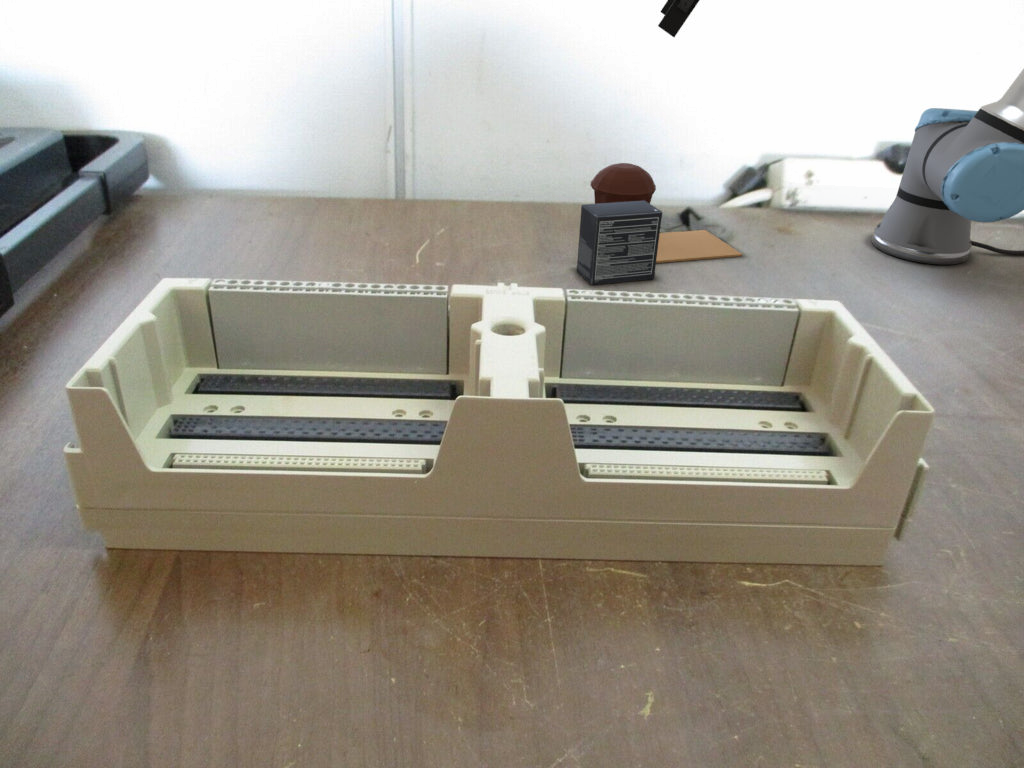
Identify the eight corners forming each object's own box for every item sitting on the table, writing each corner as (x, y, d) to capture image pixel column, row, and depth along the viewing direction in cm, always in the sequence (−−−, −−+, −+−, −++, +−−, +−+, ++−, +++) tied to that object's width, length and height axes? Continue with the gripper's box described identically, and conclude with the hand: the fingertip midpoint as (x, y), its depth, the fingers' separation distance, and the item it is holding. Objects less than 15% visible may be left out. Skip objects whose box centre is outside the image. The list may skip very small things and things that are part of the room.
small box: (636, 264, 120) (645, 198, 115) (655, 280, 115) (665, 211, 109) (574, 269, 117) (580, 202, 112) (590, 285, 112) (597, 216, 106)
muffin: (625, 208, 145) (631, 154, 139) (664, 226, 137) (672, 170, 131) (574, 216, 139) (578, 161, 134) (611, 235, 131) (618, 177, 126)
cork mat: (705, 231, 135) (705, 229, 135) (741, 256, 125) (742, 254, 125) (600, 239, 129) (600, 237, 129) (630, 265, 119) (630, 263, 119)
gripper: (739, -145, 108) (648, -3, 120) (752, -150, 88) (641, 21, 99) (781, -112, 109) (687, 25, 121) (804, -110, 89) (688, 55, 100)
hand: (666, 24), depth 110 cm, fingers open, 13 cm apart
